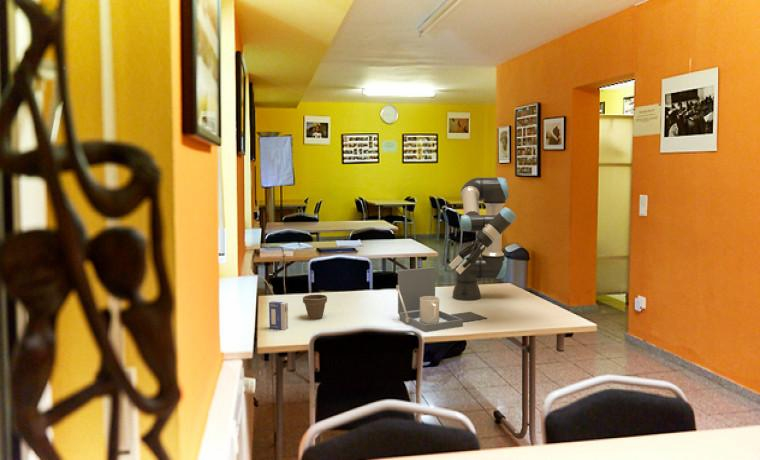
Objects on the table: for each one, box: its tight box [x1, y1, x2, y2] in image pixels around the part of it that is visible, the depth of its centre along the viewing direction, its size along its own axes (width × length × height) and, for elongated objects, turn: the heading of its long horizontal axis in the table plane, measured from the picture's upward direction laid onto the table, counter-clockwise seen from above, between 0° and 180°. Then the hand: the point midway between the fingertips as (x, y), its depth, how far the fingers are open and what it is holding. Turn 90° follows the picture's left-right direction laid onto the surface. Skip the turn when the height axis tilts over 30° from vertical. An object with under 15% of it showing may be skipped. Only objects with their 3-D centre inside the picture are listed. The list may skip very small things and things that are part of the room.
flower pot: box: [302, 294, 328, 320], centre depth 277 cm, size 12×11×10 cm
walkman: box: [268, 300, 289, 331], centre depth 259 cm, size 8×3×12 cm, turn 70°
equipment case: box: [395, 266, 464, 333], centre depth 267 cm, size 24×21×23 cm
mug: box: [419, 296, 440, 324], centre depth 267 cm, size 12×9×11 cm
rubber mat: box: [450, 311, 488, 324], centre depth 277 cm, size 13×15×1 cm
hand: (454, 269), depth 266 cm, fingers open, 13 cm apart
